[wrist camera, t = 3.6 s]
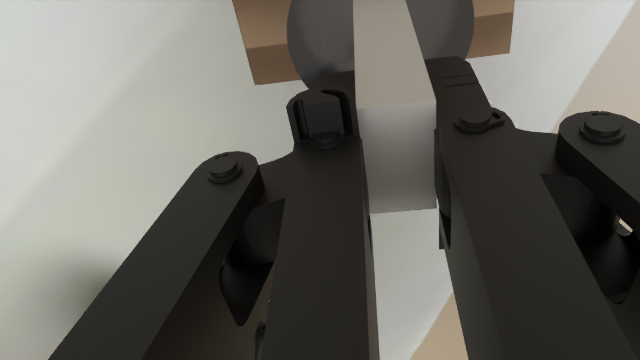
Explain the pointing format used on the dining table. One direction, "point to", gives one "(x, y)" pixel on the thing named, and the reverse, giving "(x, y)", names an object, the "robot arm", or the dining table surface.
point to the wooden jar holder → (272, 48)
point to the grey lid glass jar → (338, 33)
